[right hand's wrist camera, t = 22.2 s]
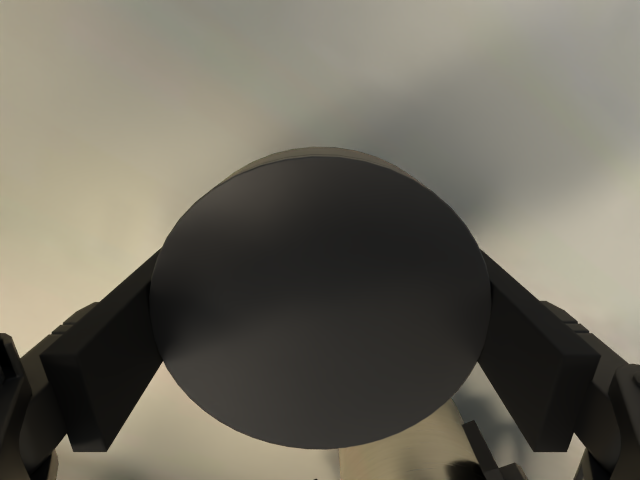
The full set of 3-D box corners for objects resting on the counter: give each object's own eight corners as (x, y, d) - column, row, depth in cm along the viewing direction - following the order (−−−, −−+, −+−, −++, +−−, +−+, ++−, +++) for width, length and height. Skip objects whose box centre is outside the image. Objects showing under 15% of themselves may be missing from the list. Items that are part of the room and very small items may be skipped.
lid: (310, 71, 10) (307, 61, 7) (519, 283, 12) (561, 320, 10) (123, 298, 12) (83, 337, 10) (326, 435, 15) (328, 489, 12)
